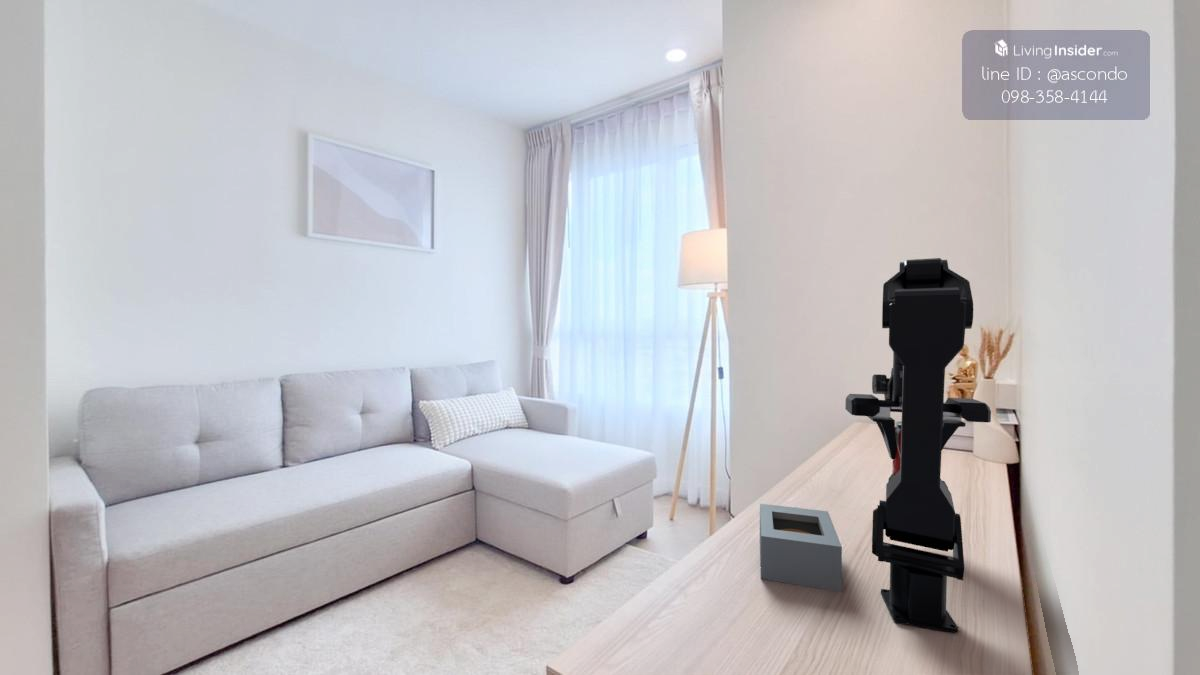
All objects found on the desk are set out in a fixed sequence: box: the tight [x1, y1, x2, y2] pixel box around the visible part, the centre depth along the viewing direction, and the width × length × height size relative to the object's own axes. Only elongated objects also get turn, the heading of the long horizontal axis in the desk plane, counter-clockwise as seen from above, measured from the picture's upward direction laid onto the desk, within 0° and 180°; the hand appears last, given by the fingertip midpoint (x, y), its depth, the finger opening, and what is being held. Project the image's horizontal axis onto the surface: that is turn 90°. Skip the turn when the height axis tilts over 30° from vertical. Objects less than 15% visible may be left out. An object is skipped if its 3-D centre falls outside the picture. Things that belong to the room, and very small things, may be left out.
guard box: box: [759, 503, 843, 593], centre depth 68 cm, size 12×10×6 cm
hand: (912, 460), depth 75 cm, fingers closed on soda can, 5 cm apart
